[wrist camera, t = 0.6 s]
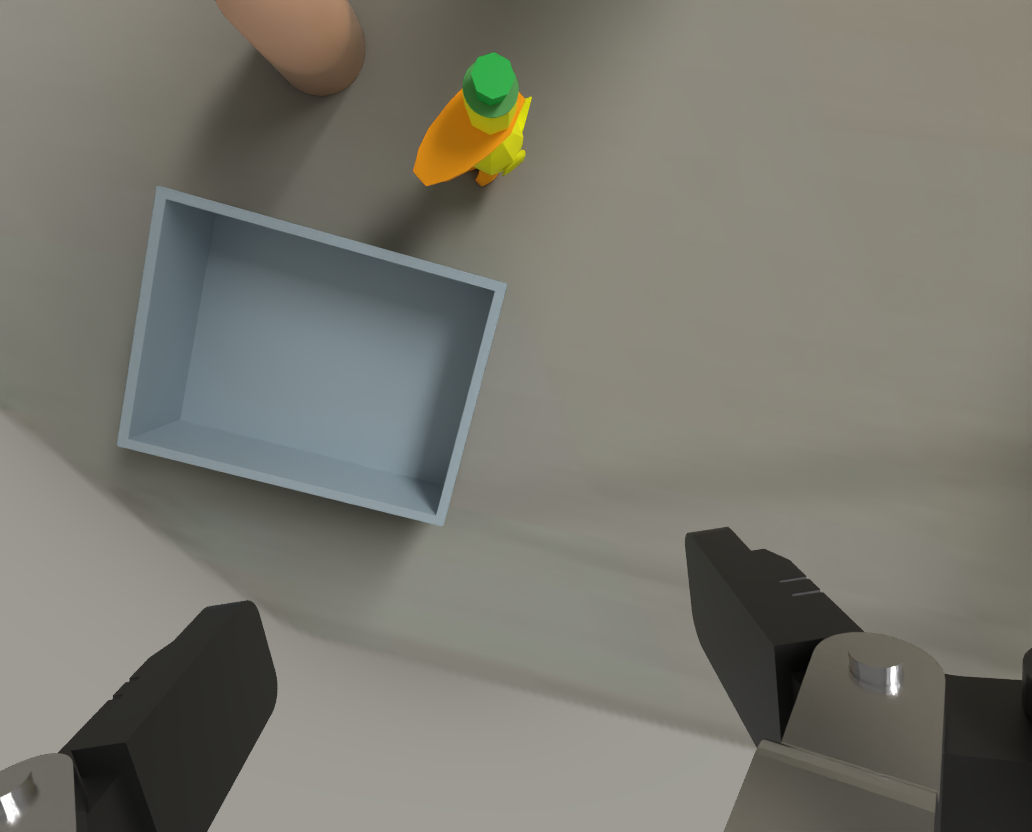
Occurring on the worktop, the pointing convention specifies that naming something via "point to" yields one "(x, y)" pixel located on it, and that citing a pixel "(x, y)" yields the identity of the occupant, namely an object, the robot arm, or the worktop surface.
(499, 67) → the toy figure
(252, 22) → the brown egg
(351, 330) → the tote
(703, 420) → the worktop surface
